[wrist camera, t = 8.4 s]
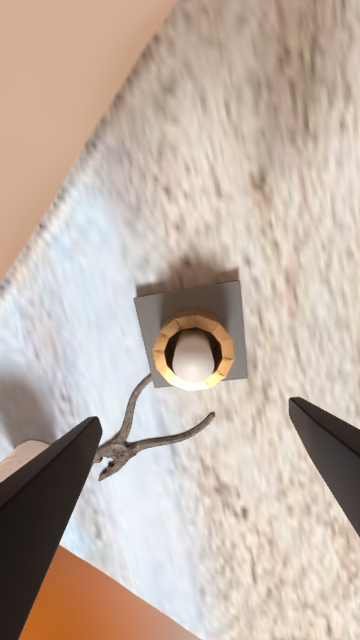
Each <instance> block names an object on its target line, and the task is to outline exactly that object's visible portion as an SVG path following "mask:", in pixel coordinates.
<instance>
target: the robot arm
mask: <svg viewBox="0 0 360 640" xmlns="http://www.w3.org/2000/svg"><path fill="white" fill-rule="evenodd" d="M289 416H290V419H291V421H292V423H293V425H294V427H295V429H296V431H297V433H298V435H299V437H300V439H301V441H302V443H303V444H304V446H305V448H306V450H307V452H308V454H309V456H310V458H311V460H312V461H313V463H314V465H315V466H316V468H317V470H318V471H319V473H320V474H321V476H322V478H323V479H324V481H325V482H326V484H327V486H328V487H329V489H330V490H331V492H332V494H333V495H334V497H335V499H336V500H337V502H338V503H339V505H340V507H341V508H342V510H343V511H344V513H345V515H346V516H347V518H348V519H349V521H350V523H351V524H352V526H353V528H354V529H355V531H356V532H357V534H358V536H359V537H360V429H358V428H356V427H354V426H352V425H351V424H349V423H347V422H345V421H343V420H341V419H340V418H338V417H336V416H334V415H332V414H330V413H328V412H327V411H325V410H323V409H321V408H319V407H317V406H316V405H314V404H312V403H310V402H308V401H306V400H305V399H303V398H301V397H291V398H289ZM101 436H102V427H101V424H100V421H99V418H98V417H97V416H93V417H88V418H87V419H85V420H84V421H82V422H81V423H80V424H78V425H77V426H76V427H74V428H73V429H72V430H70V431H69V432H68V433H66V434H65V435H64V436H62V437H61V438H60V439H58V440H57V441H56V442H54V443H53V444H52V445H50V446H49V447H48V448H46V449H45V450H44V451H42V452H41V453H40V454H38V455H37V456H35V457H34V458H33V459H31V460H30V461H29V462H27V463H26V464H25V465H23V466H22V467H21V468H19V469H18V470H17V471H15V472H14V473H13V474H11V475H10V476H9V477H7V478H6V479H5V480H3V481H2V482H1V483H0V640H18V639H19V637H20V635H21V632H22V630H23V628H24V625H25V623H26V621H27V618H28V616H29V613H30V611H31V609H32V606H33V604H34V601H35V599H36V597H37V595H38V592H39V590H40V587H41V585H42V583H43V581H44V578H45V576H46V573H47V571H48V569H49V566H50V564H51V562H52V559H53V557H54V554H55V552H56V550H57V548H58V545H59V543H60V540H61V538H62V536H63V533H64V531H65V529H66V526H67V524H68V522H69V519H70V517H71V515H72V512H73V510H74V507H75V505H76V503H77V500H78V498H79V496H80V493H81V491H82V489H83V486H84V484H85V482H86V479H87V477H88V474H89V472H90V469H91V466H92V463H93V460H94V457H95V454H96V451H97V448H98V445H99V442H100V439H101Z"/></svg>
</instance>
